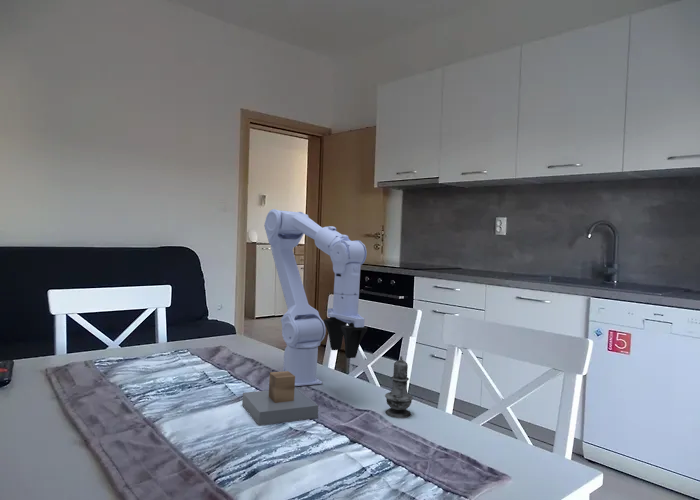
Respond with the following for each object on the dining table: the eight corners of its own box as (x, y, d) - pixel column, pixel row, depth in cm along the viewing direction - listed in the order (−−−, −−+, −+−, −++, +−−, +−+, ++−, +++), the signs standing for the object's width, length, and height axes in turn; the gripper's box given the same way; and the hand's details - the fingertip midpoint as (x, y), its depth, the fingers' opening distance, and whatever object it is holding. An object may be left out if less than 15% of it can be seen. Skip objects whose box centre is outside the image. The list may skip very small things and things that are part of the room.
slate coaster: (242, 404, 101) (242, 392, 101) (296, 398, 107) (296, 387, 107) (258, 425, 91) (259, 412, 91) (317, 417, 96) (318, 405, 96)
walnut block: (268, 396, 100) (269, 372, 100) (286, 394, 102) (288, 371, 101) (275, 402, 96) (276, 377, 96) (293, 400, 98) (295, 376, 98)
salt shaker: (411, 420, 98) (414, 360, 98) (382, 416, 99) (385, 358, 99) (413, 410, 104) (416, 354, 103) (385, 407, 105) (389, 351, 105)
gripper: (317, 289, 114) (314, 347, 114) (344, 297, 101) (341, 362, 101) (344, 290, 117) (341, 345, 117) (374, 297, 104) (370, 360, 104)
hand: (343, 353), depth 109 cm, fingers open, 7 cm apart
